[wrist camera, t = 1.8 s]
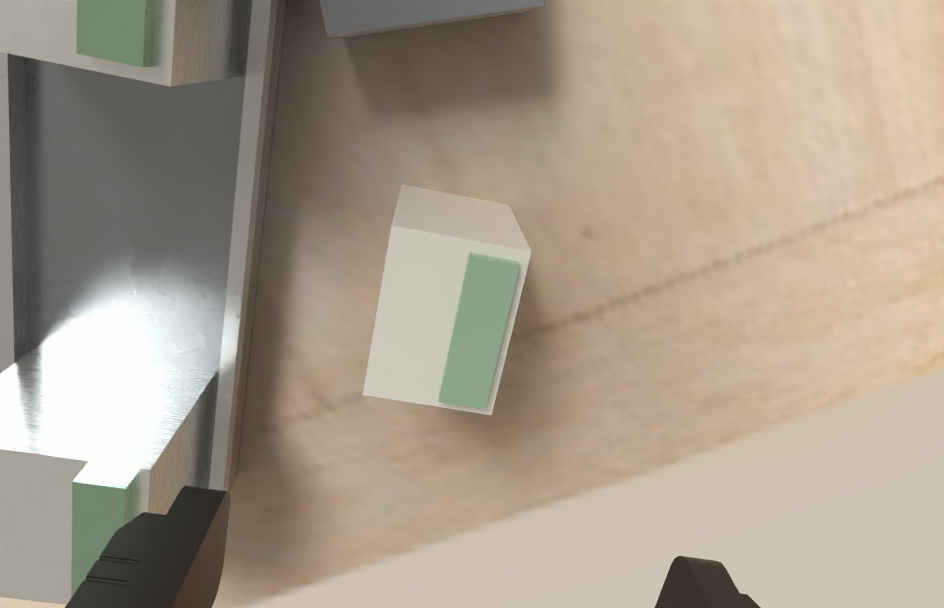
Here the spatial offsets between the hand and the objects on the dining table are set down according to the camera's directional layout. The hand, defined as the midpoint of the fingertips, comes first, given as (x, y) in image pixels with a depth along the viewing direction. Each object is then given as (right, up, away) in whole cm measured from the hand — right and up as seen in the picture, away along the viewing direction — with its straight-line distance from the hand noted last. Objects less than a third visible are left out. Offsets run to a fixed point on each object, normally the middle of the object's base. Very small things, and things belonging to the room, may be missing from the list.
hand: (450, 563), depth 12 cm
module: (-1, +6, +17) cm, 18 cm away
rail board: (-13, +8, +15) cm, 22 cm away
